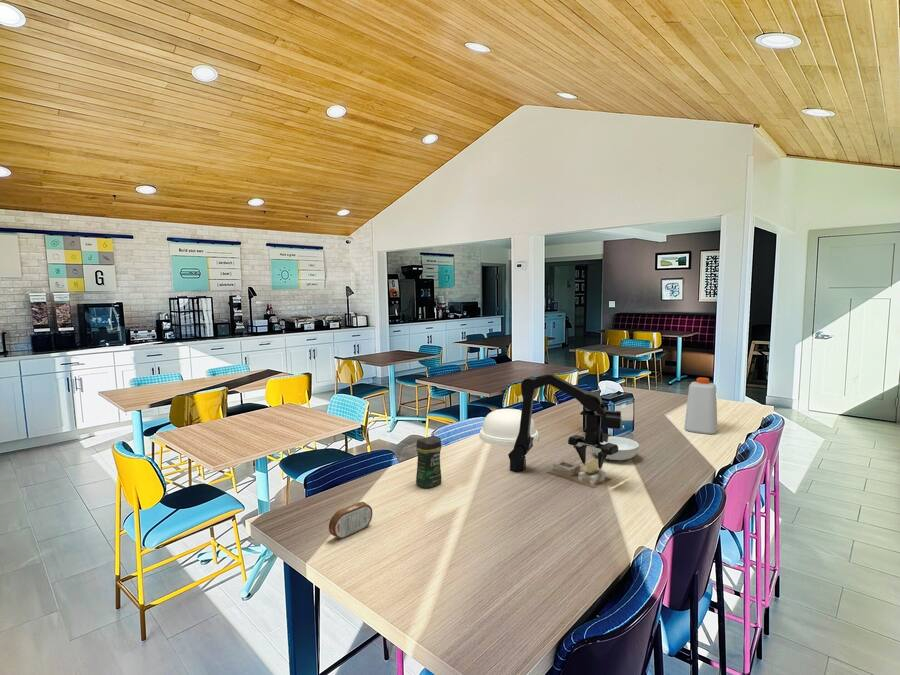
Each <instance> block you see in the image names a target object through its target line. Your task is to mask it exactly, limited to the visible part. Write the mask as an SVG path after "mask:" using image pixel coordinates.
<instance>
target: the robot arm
mask: <svg viewBox="0 0 900 675" xmlns="http://www.w3.org/2000/svg"><path fill="white" fill-rule="evenodd" d="M548 385H550V386H552V387H553V388H555V389H557V390H559V391H561V392H563V393H565V394H566V395H568V396H570V397H571V398H574V399H575V400H576V401H578V403H580V404H581V405H582V406H583V407H584V409H583V410H581V411H580V415H581V416H585V418H584V420H585V423H584V425H585V426H584V428H583V429H582V431H583V433H584V436H583V435H578V434H574V435H572V436H571V435H570V436H569V437H568V439H567V444H568V445H570V446H573V448H574V449H575V450H576V452H577V455H578V456H579V459H580V461H581V463H582V465H584V464H586V463H587V461H586V460H587V457H586V456H587V454H586V452H587V447H590V448H591V447H595V448H599V449H601V452H599V453H598V455H597V459H598V470H600V469H602V467H603V465H604V462H605V460H606V459H605V458H606V456H607V455H613V454H615V453H617V452H618V446H617V445H616V444H612V443H607V444H600V443H603V442H604V441H605V442H608V437H609V435H610V433H609V434H608V433H605V432H604V430H603V428H601V427H602V426H603V427H604V429H610V430H618V431H619V430H620V431H621V430H622V421H623V419H622V411H621V410H608V408H607V407H606V406H605V404H604V402H603V400H602V397H601V396H602V395H600V394H598V393H597V392H593V391H589V390H586V389H582V388H580V387H579V386H576V385H574V384H573V383H571V382H569V381H567V380H566V379H563V378H561V377H559V376H558V375H556V374H554V373H553V372H548V373H546V374H542V375H539V376H533V375H532V376H531V375H530V376H528V377H526V378H524V379H523V380H522V381H521V383H520V387H521V389H520V390H521V391H520V392H521V398H522V406H521V411H522V412H521V421H520V429H519V434H518V437H517V439H516V442H515V445H514V447H513V449H512V450H511V451H510V452H509V453H508V454H507V456H508V459H509V471H510V472H514V473H522V472H525V470H526V468H527V462H526V460H527V459H526V457H527V456H526V455H527V454H528V453H529V452H530V451H531V449H532V448H533V447H534V443H533V439H534V437H531V436H530V425H531V417H532V418H533V416H532V414H533V407H534V401H535V397H536V394H537V392H538V389H539V388H542V387H545V386H548ZM601 425H602V426H601Z"/></svg>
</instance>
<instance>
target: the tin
mask: <svg viewBox="0 0 900 675" xmlns="http://www.w3.org/2000/svg"><path fill="white" fill-rule="evenodd" d="M372 519H373V508H372V507H371V506H370V505H369V504H368V503H366V502H364V501H360V502H357V503H353V504H351V505H349V506H346V507H343V508H341V509H338V510H337V511H336V512H335V513H334V514H333V515H332V516H331V518H330V520H329V523H328V531H329V533H330V535H332V537H335V538H337V539H345V538H347V537H349V536H352V535H354V534H356V533H359V532H361V531H363V530H365V529H366V528H367V527H369V525H370V523H371V521H372Z"/></svg>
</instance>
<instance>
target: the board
mask: <svg viewBox="0 0 900 675" xmlns="http://www.w3.org/2000/svg"><path fill="white" fill-rule="evenodd" d="M545 473H546V474H549V475H552V476H554V477H557V478H562V479H565V480H568V481H569V482H574V483H577V484H580V485H582V486H585V487H589V488H592V489H597V488H598V487H600V486H603V485H604V484H606V483H608V482H610V481H611V480H613V479H612V478H611V477H610V478H609V477H607V476H606V471H603V470H600V469H597V473H596V474H594V475H589V474H587V471H585V470H583V469H581V465H580V464H576V463H573V462H570V461H565V460H563V459H562V460H560V461H558V462H555V463H553V464H552V469H550V470H548V471H546V472H545Z"/></svg>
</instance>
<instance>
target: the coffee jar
mask: <svg viewBox="0 0 900 675" xmlns="http://www.w3.org/2000/svg"><path fill="white" fill-rule="evenodd" d="M415 448H416V451H417V452H416V454H417V462H416V463H417V464H416V465H417V466H416V476H415V477H416V479H415V483H416V485H417V486H418V487H419V488H426V489H428V488H429V489H430V488H432V487H436V486H439V485H441V483H442V470H441V450H442V439H441V437H439V436H436V435H431V436H426V437H422V438H418V439H417V440H416V446H415Z"/></svg>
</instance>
